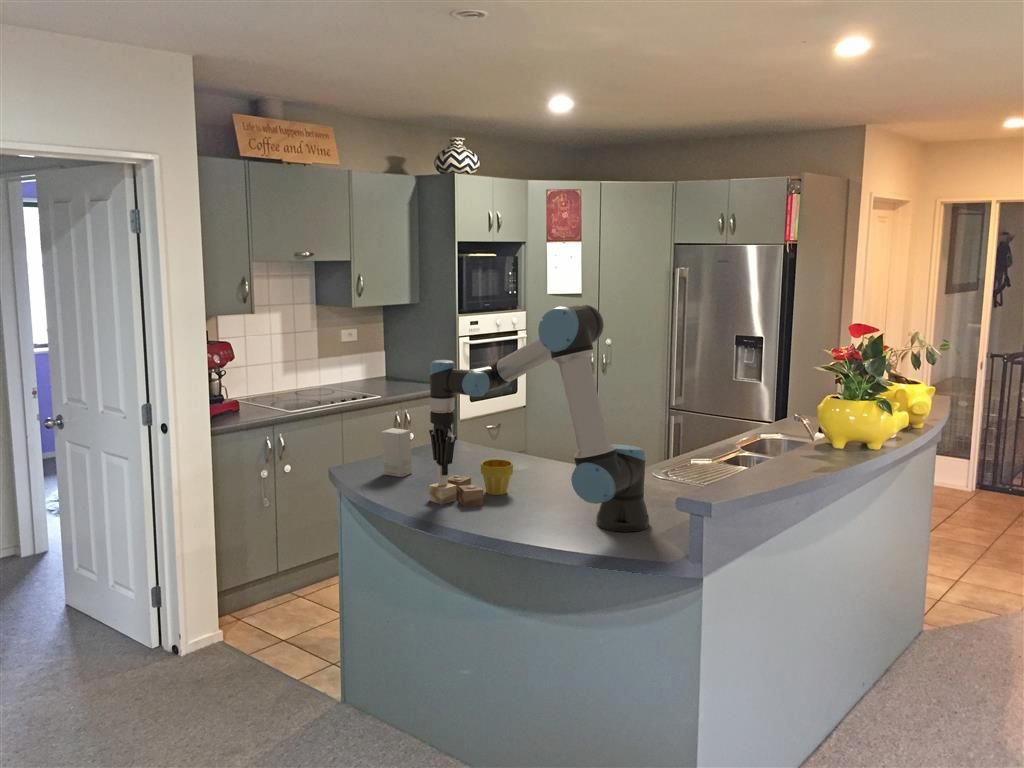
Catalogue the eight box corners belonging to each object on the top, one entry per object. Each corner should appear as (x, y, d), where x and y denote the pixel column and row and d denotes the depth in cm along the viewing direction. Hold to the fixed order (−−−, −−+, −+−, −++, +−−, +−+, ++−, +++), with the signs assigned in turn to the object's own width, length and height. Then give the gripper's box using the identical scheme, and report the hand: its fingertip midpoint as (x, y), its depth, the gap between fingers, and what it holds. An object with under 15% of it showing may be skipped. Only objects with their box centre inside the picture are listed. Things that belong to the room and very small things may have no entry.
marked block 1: (470, 492, 278) (470, 477, 277) (460, 497, 273) (460, 481, 272) (455, 489, 281) (455, 474, 280) (444, 494, 276) (444, 478, 275)
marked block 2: (483, 505, 265) (483, 488, 264) (464, 507, 263) (464, 490, 262) (477, 499, 271) (477, 483, 270) (458, 501, 269) (458, 485, 268)
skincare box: (412, 473, 299) (412, 430, 297) (400, 478, 294) (399, 433, 291) (393, 470, 304) (393, 427, 301) (381, 474, 298) (380, 430, 296)
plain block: (456, 500, 269) (456, 485, 268) (441, 504, 265) (441, 489, 264) (443, 496, 273) (443, 481, 273) (429, 500, 269) (429, 485, 268)
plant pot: (509, 498, 272) (509, 468, 271) (477, 495, 274) (477, 466, 273) (515, 488, 282) (515, 459, 281) (485, 486, 284) (485, 458, 283)
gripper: (463, 412, 261) (463, 487, 265) (442, 405, 272) (442, 477, 276) (442, 415, 257) (442, 491, 261) (421, 408, 268) (422, 481, 271)
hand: (442, 484), depth 268 cm, fingers closed
